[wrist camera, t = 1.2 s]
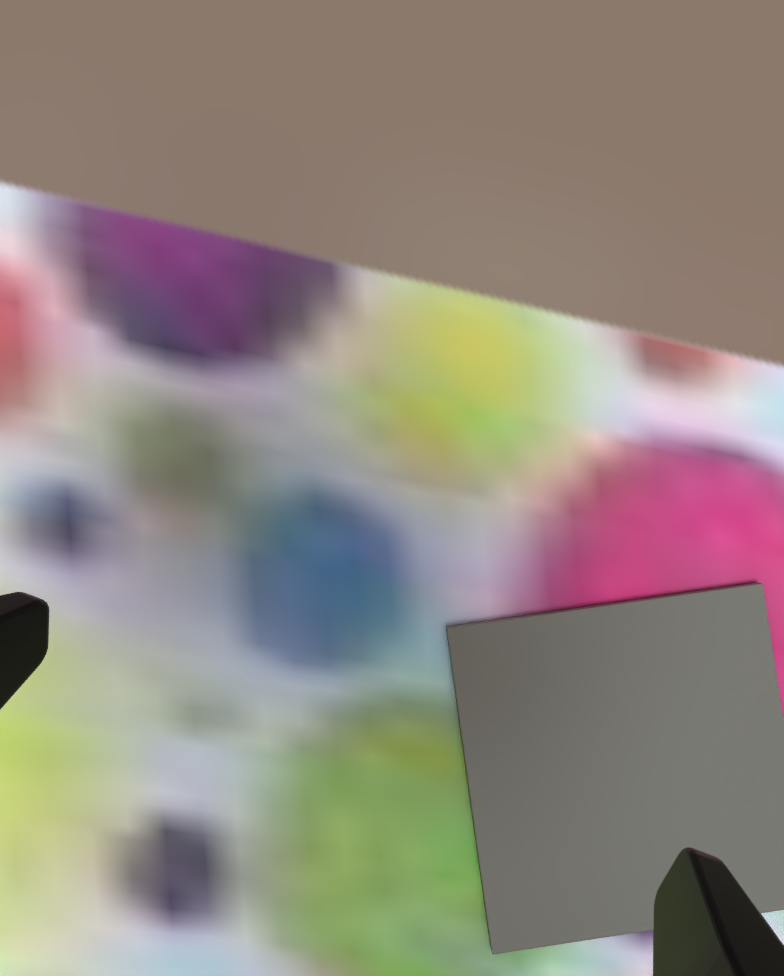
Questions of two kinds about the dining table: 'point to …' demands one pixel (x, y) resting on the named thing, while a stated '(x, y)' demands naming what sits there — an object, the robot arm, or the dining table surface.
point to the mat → (619, 758)
